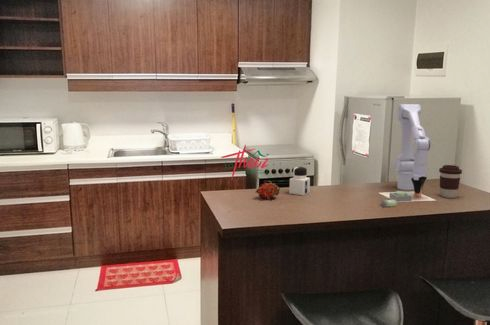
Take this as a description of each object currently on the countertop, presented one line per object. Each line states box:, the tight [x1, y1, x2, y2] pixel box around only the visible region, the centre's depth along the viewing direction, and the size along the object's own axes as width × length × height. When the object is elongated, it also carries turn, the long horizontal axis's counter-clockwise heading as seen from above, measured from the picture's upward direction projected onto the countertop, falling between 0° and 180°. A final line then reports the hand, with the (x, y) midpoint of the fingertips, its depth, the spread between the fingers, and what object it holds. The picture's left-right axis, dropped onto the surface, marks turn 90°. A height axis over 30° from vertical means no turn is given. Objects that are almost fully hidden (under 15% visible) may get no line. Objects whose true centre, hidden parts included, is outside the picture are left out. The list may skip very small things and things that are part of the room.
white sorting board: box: [379, 190, 437, 203], centre depth 205 cm, size 20×18×3 cm
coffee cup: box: [438, 164, 463, 199], centre depth 208 cm, size 10×10×15 cm
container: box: [288, 166, 311, 196], centre depth 213 cm, size 8×8×13 cm
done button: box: [395, 190, 406, 196], centre depth 199 cm, size 4×4×3 cm
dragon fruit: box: [255, 181, 281, 200], centre depth 203 cm, size 8×8×12 cm
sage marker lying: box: [379, 199, 398, 209], centre depth 189 cm, size 6×3×3 cm, turn 99°
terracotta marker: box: [414, 187, 423, 197], centre depth 202 cm, size 3×3×6 cm
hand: (418, 192), depth 202 cm, fingers open, 3 cm apart
